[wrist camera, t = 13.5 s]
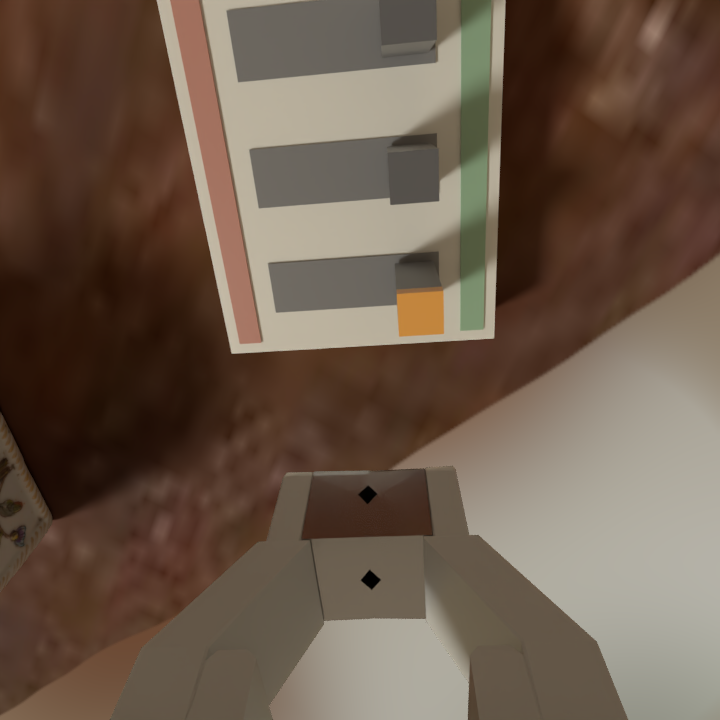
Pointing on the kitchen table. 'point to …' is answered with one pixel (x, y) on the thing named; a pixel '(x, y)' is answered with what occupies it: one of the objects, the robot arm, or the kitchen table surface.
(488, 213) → the breaker box
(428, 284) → the breaker handle
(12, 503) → the decorative jar
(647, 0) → the kitchen table surface
